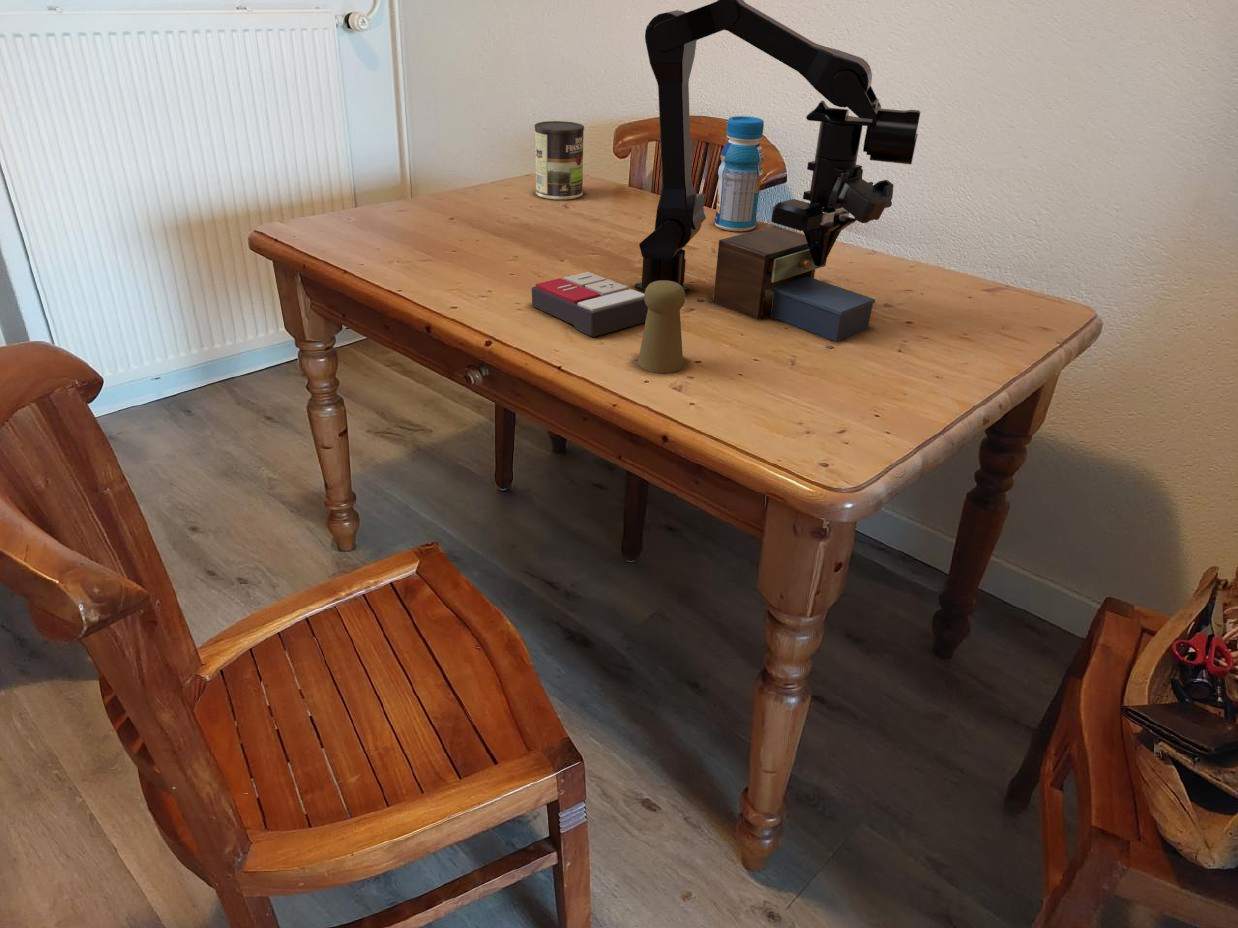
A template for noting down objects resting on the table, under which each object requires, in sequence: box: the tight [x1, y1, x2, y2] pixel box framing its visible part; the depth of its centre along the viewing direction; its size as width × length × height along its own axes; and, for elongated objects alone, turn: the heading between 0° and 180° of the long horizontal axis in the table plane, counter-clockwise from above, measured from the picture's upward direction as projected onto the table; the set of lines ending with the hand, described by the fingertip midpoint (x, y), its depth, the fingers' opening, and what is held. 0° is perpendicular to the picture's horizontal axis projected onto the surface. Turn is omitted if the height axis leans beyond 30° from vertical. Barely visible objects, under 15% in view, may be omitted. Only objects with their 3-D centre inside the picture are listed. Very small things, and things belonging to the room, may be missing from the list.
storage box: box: [770, 276, 876, 342], centre depth 129 cm, size 8×12×5 cm
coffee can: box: [534, 120, 585, 201], centre depth 185 cm, size 10×10×14 cm
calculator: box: [531, 271, 648, 337], centre depth 129 cm, size 11×4×15 cm
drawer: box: [768, 248, 828, 283], centre depth 131 cm, size 13×10×3 cm
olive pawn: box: [637, 280, 686, 374], centre depth 113 cm, size 6×6×11 cm
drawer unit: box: [712, 225, 816, 320], centre depth 134 cm, size 13×9×10 cm
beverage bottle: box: [714, 115, 765, 232], centre depth 167 cm, size 8×8×20 cm
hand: (818, 265), depth 129 cm, fingers closed, pressing on drawer
